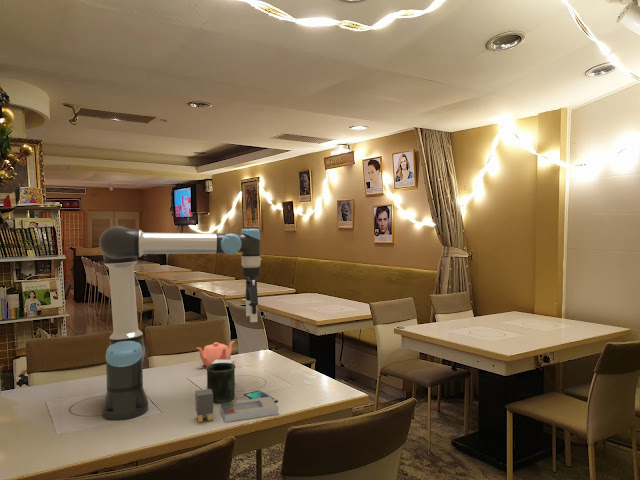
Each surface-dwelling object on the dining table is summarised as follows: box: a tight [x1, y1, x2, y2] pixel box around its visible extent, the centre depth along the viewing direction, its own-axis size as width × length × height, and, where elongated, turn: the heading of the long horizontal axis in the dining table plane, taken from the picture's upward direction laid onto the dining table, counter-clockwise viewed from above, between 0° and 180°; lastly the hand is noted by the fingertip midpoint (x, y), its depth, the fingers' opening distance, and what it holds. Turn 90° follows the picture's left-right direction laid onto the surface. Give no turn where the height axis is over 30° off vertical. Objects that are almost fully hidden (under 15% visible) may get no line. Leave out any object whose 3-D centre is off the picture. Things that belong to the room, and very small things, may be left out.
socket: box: [219, 396, 279, 423], centre depth 162 cm, size 18×11×3 cm, turn 111°
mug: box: [205, 363, 236, 404], centre depth 177 cm, size 11×15×12 cm
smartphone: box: [243, 390, 279, 404], centre depth 176 cm, size 7×1×15 cm
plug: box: [194, 388, 214, 423], centre depth 157 cm, size 5×5×9 cm
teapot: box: [196, 340, 236, 367], centre depth 218 cm, size 14×14×11 cm
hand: (251, 318), depth 191 cm, fingers open, 13 cm apart
